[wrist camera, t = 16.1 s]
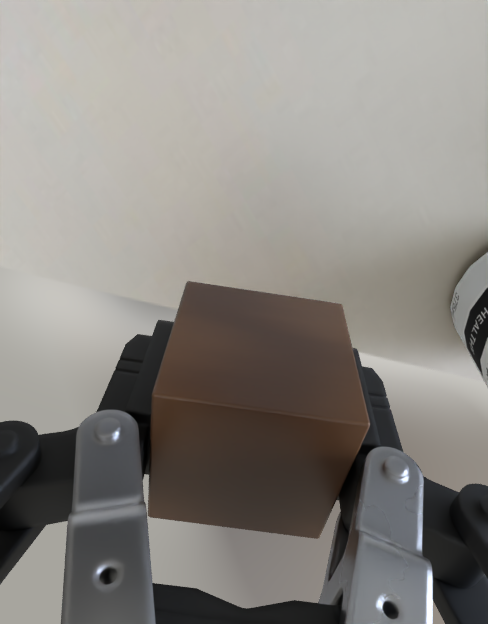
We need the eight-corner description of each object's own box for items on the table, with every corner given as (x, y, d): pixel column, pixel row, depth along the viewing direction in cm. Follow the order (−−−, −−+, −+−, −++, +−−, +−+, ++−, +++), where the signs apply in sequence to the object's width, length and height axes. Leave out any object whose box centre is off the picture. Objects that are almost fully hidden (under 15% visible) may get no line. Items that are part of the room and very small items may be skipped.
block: (177, 392, 15) (147, 518, 11) (186, 279, 12) (151, 394, 9) (308, 410, 15) (319, 540, 11) (343, 303, 12) (372, 425, 9)
